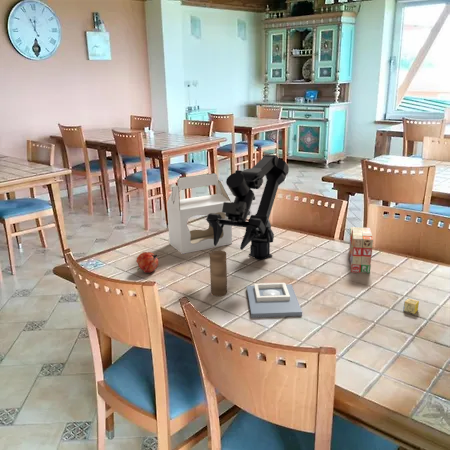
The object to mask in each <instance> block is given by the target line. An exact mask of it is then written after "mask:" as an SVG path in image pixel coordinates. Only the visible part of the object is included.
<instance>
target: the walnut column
mask: <svg viewBox="0 0 450 450" xmlns="http://www.w3.org/2000/svg"><path fill="white" fill-rule="evenodd" d="M227 263H228V262H227V252H226V251H225V250H221V249H219V250H213V251H210V252H209V270H210V271H209V273H210V274H209V275H210V294H211V295H212V296H214V297H222V296H226V295H228V271H227V270H228V269H227V268H228V267H227Z"/></svg>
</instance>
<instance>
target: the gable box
mask: <svg viewBox="0 0 450 450" xmlns="http://www.w3.org/2000/svg"><path fill="white" fill-rule="evenodd" d="M176 183H177V185H175V186H171V194H170V196H169V198H168V200H167V202H166V209H167V226H168V238H169V239H168V241H169V245H171V246H172V248H174V249H176V251H178V252H179V253H180V254H182V255H183V254H185V255H186V254H189V253H194V252H200V251H203V250H204V251H205V250H209V249H213V248H219V247H223V246H228V245H232V244H233V230H232V229H233V226H230V225H224V227H223V228H222V230H223V232H222V234H221V236H220V239H219V241H218V243H217V245H216V246H215V245H214V232H213V228H212V227H211V226H210V224H209V223H208V228H207V229H205V230H202V229H192V230H190V229H189V226H188V220H189V219H190V218H193V217H195V216H208V214H210V213H214V214H220V215H221V217H222V218H223V219H228V217H226V215H225V214H226V213H224V212H222V209H223V203H224V202H228V203H232V201H231V199H230V197H229V196H228V193H227V191H226V190H225V187H224V181H223V180H221V179H220V180H219V179H218V174H217V173H215V172H214V173H206V174H199V175H190V176H183V177H179V178H178V179H177V180H176ZM209 186H215V194H214V193H213V194H209V195H207V194H206V195H202V196H201V195H200V196H194V197H188V198H181V194H180V192H181V190H186V189H195V188H202V187H209Z"/></svg>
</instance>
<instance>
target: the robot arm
mask: <svg viewBox="0 0 450 450" xmlns="http://www.w3.org/2000/svg"><path fill="white" fill-rule="evenodd" d="M289 172H290V171H289V165H288V163H286V161H285V160H282V158H279V156H278V155H275V154H264V155H262V158H261V159H260V160H259V161H258V162H257V163H256V164H255V165H254V166H253V167H251V168H246V169H244V170H240V169H239V170H238V169H237V170H235V171H234V172H233V173H230V174H229V176H228V177H226V181H225V183H226V185H227V187H228V189H229V191H230V193H231V194H232V195H233V196H234V200H233V201H231V203H228V202H224V203H223V209H222V212H224V213H226V214H225V215H226V217H228V219H223V218H222V217H221V215H220V214H214V213H210V214H208V215H206V219H205V220H206V222H207V223H208V225H209V224H210V226H211V227H212V228H213V232H214V245H215V246H216V245H217V243H218V241H219V239H220V236H221V234H222V232H223V230H222V228H223V227H224V225H230V226H232V227H239V228H245V232H244V235H243V238H242V241H241V243H240V247H239V248H240V250H241V251H242V250H244V249H245V248H246V246H248V244H250V252H249V253H248V256H250V257H252V258H253V259H256V260H257V261H260V260H265V259H268V258H272V257H273V254H271V251H270V250H271V248H270V246H271V243H274V238H275V234H274V232H273V230H272V224H271V222H270V216H271V212H272V210H273V205H274V203H275V199H276V195H277V193H278V189H279V186H280V185H281V184H282V183H283V182H284V181H285V180H286V177H287V175H288V174H289ZM264 177H265V178H266V182H265V185H264V189H263V191H262V194H261V199H260V201H259V205H258V208H257V211H256V213H255V214H251V211H250V210H251V208H252V207H251V206H252V204H253V201H256V196H255V193H254V191H253V190H259V189H260V188H261V186H262V184H263V183H264ZM248 216H250V217H249V219H248ZM247 219H248V221H247ZM250 242H251V243H250Z"/></svg>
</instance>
